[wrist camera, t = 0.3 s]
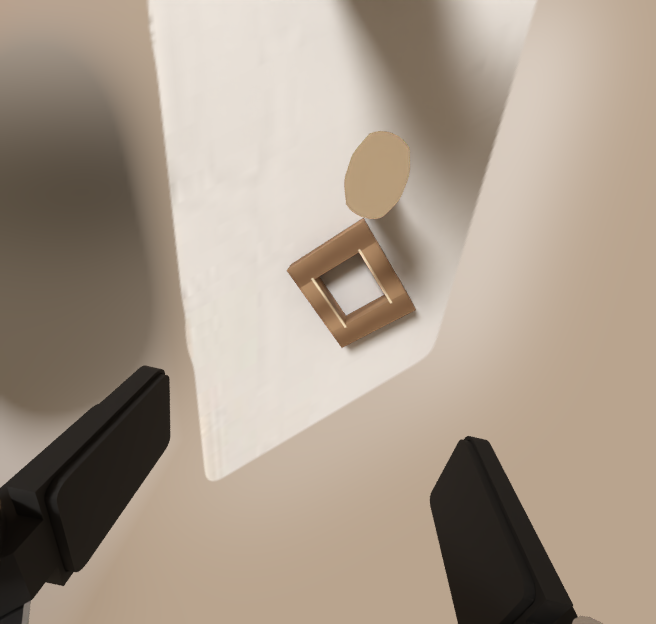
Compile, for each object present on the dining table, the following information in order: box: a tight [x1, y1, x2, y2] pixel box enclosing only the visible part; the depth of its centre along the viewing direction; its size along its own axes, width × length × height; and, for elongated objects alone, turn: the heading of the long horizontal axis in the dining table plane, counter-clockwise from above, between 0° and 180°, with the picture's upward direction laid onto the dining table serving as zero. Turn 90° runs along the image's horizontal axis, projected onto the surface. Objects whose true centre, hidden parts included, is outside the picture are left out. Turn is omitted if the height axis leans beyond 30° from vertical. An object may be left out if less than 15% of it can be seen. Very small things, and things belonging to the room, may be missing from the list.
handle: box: [344, 131, 410, 219], centre depth 31 cm, size 5×6×15 cm
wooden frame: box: [287, 218, 416, 347], centre depth 42 cm, size 14×12×3 cm
